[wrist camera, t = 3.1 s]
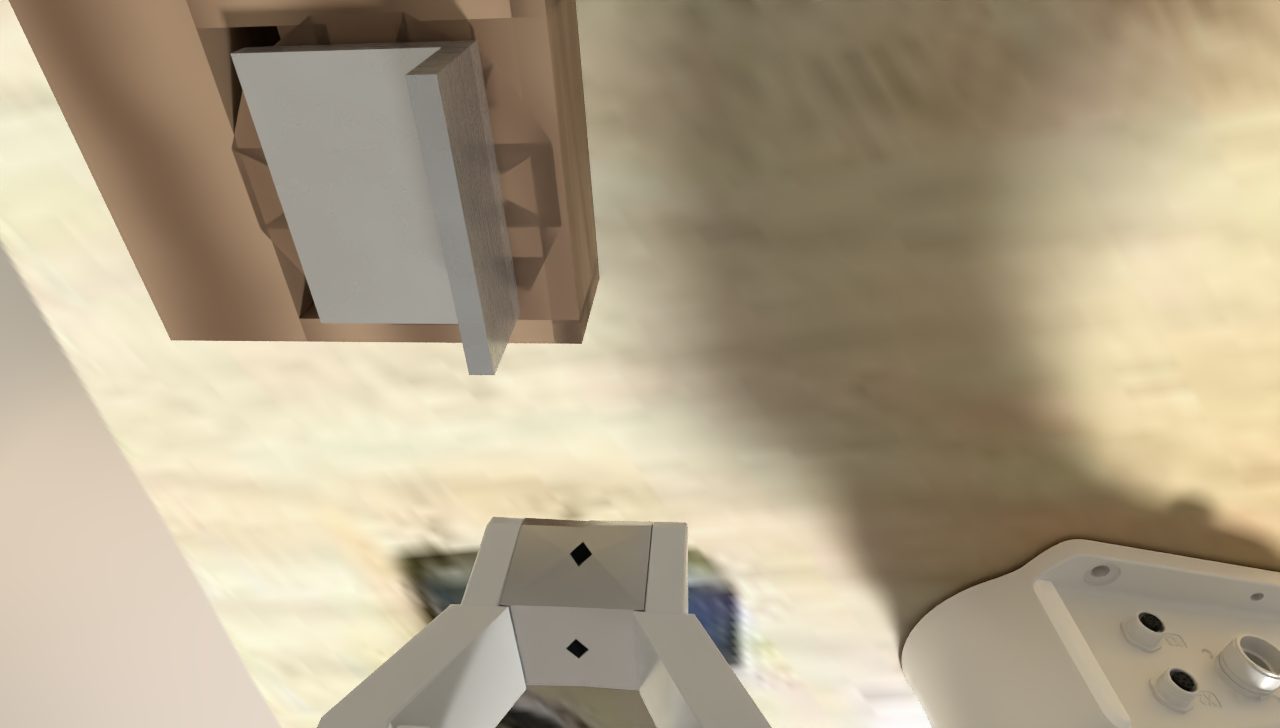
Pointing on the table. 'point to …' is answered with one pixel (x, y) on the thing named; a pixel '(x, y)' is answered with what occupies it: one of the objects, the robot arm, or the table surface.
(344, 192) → the panel
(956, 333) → the table surface
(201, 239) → the socket block
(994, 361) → the table surface
